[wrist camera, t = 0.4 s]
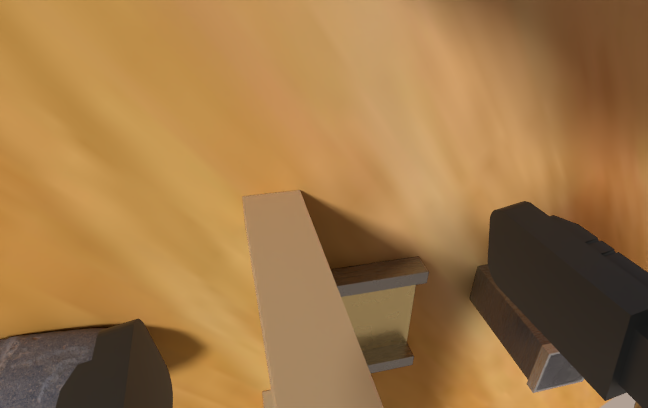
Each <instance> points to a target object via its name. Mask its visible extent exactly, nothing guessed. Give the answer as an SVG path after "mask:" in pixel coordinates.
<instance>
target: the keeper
mask: <svg viewBox="0 0 648 408" xmlns="http://www.w3.org/2000/svg"><path fill="white" fill-rule="evenodd" d="M331 272H332V275H333V277H334V280H335V283H336V285H337V288H338V290H339V293H340V296H341V298H342V301H343V303H344V306H345V309H346V311H347V314H348V316H349V319H350V322H351V324H352V327H353V329H354V332H355V335H356V337H357V340H358V342H359V345H360V348H361V350H362V353H363V355H364V358H365V361H366V363H367V366H368V368H369V371H370V373H375V372H380V371H384V370H389V369H394V368H399V367H404V366H409V365H412V364H413V358H414V356H413V354H412V352H411V350H410V348H409V346H408V344H407V337H408V331H409V325H410V319H411V312H412V306H413V300H414V293H415V287H416V285H417V284H424V283H427V279H428V273H429V271H428V270H427V268H426V267H425V265H424V264H423V262H422V261H421V259H420V258H419V256H418V257H411V258H405V259H398V260H391V261H385V262H378V263H371V264H365V265H358V266H352V267H345V268H338V269H332V270H331Z"/></svg>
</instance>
